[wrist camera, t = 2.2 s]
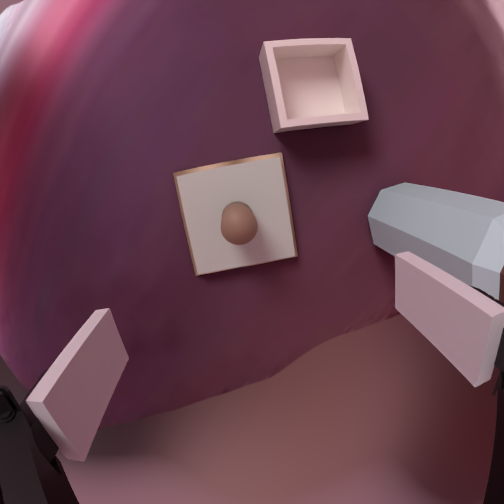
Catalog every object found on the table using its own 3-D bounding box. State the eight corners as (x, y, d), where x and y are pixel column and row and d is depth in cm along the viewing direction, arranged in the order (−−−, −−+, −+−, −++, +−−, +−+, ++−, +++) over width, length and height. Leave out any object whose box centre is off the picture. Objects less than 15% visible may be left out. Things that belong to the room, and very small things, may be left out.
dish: (273, 133, 36) (280, 127, 30) (258, 57, 33) (263, 41, 28) (350, 124, 36) (368, 119, 31) (335, 52, 33) (350, 38, 28)
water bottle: (434, 222, 40) (569, 280, 16) (387, 267, 41) (508, 362, 18) (401, 166, 38) (555, 187, 14) (349, 212, 39) (487, 281, 15)
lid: (198, 271, 39) (192, 294, 32) (178, 176, 36) (166, 178, 29) (293, 253, 39) (306, 272, 32) (278, 157, 36) (289, 155, 29)
